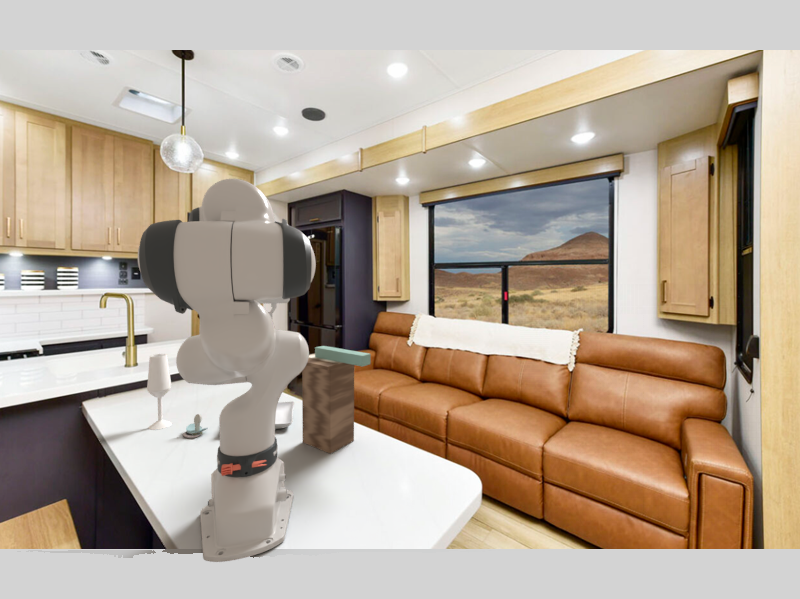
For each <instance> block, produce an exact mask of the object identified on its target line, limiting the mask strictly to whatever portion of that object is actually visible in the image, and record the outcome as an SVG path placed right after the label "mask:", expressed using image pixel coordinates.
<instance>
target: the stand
mask: <svg viewBox="0 0 800 599" xmlns="http://www.w3.org/2000/svg"><path fill="white" fill-rule="evenodd" d="M301 373H302V377H301V378H302V379H301V380H302V385H301V386H302V387H301V389H302V391H301V392H302V393H301V394H302V396H301V397H302V399H301V400H302V409H301V410H302V443H303V444H306V445H308V446H310V447H313V448H316V449H318V450H320V451H323V452H325V453H328V454H330V455H331V454H333V453H335V452H337V451H338V450H340V449H343V447H346V446H347V445H349V444H351V443H353V442H354V441H355V365H352V364H347V363H342V362H337V361H332V360H327V359H322V358H317V357H315V353H309V358H308V362H307V364H306V366H305V368H304V370H303V371H302V372H301Z"/></svg>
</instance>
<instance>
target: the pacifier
mask: <svg viewBox="0 0 800 599" xmlns="http://www.w3.org/2000/svg"><path fill="white" fill-rule="evenodd" d="M202 420H203V417H202V415H201V414H199V413H197V414H195V416H194V418H193V423H190V424H188V425H187V426H186V428H185V431H184V432H183V433H182V436H183V437H185V438H187V439H195V438H198V437H200V436H201V435H202V434H203V432H204V431H206V430H208V427H204V428H202V427H203V426H201V423H202ZM189 434H190V435H189Z"/></svg>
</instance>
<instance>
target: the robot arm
mask: <svg viewBox="0 0 800 599" xmlns="http://www.w3.org/2000/svg"><path fill="white" fill-rule="evenodd" d="M314 252H315V251H314V249H313V247H312V245H311V240H310V238H308V237H307V235H305V234H304V233H303V232H302V231H301V230H300V229H298V228H297V227H294V226H291V225H289V224H288V221H287V219H285V218H282V219H281V222H279V221H275V214H274V210H273V207H272V204H271V203H270V201H269V199H268V198H267V196H266V195H265V194H264V192H262V190H261V189H259V188H258V187H257V186H256V185H255V184H253V183H250V182H249V181H247V180H244V179H239V178H225V179H221V180H218V181H217V182H215V183H213V184H212V185H211V186H209V188H208V189H207V190H206V192H205V193H204V196H203V199H202V203H201V206H198V207H195V208H193V209H192V210H191V211H190V213H189V217H188V221H182V220H181V219H171V220H163V221H158V222H155V223H151V224H149V225H148V227H147V228H146V229H145V230H144V232H142V234H141V238H140V242H139V245H138V249H137V266H138V268H139V269H138V270H139V271H140V275H141V278H142V281H143V283H144V285H145V286H146V287H147V289H149V290H150V291H151V293H153V294H154V295H155V296H156V297H157V298H158V299H160V300H161V301H164V302H165V303H168V304H170V305H172V306H173V307H174V311H175V312H176V313H178V314H185V313H186V311H187V310H190V311H195V312H196V313H197V314H198V316H199V329H198V330H199V334H197V335H192V336H189V337H188V338H186V339H185V340H184V341H183V343H182V344H181V345H180V347H179V348H178V351H177V355H176V359H175V363H176V368H177V371H178V373H179V375H180V377H181V378H182V379H183V380H184V381H185V382H186V383H188V384H193V385H194V384H195V385H203V386H204V385H205V386H221V385H232V384H233V385H234V384H243V383H245V384H247V383H250V384H251V387H250V388H249V389H247V391H246V392H244V393H243V394H241V395H239V396H237V397H235V398H234V399H232V400H231V401H229V402H228V403H227V404H226V405H225V406H224V407H223V409H222V410H221V411H220V414H219V417H218V418H219V426H218V428H219V446H218V448H217V455H216V462H217V466H216V469H215V470H214V471H213V472H212V473H211V474H210V476H211V477H210V479H211V480H210V481H211V483H210V484H211V491H210V492H211V498H210V499H208V501H207V504H206V506H204V507H202V508H201V509H200V514H199V516H200V517H199V519H200V532H201V533H200V534H201V535H200V536H201V550H202V559H203V560H204V561H205V562H210V563H211V562H213V563H222V562H223V563H224V562H231V561H236V560H241V559H244V558H245V559H246V558H249V557H253V556H255V555H259V554H262V553H264V552H266V551H268V550H271V549H273V548H276V547H277V546H278V545H281V543H283V542H284V541H285V539H286V536H287V531H288V530H287V529H288V525H289V521H290V520H289V519H290V517H291V512H292V507H293V502H294V491H292V490H291V489H290V490H289V489H287V488H286V486H285V481H286V480H287V479H286V476H287V475H286V473H285V462H284V461H283V460H282V459H280V458H279V457H278V440H277V437H276V429H275V417H276V408H277V404H278V402H280V401H279V400H280V397H281V396H282V394H283V392H284V391H285V389H286V388H287V386H288V385H289V384H290V383H291V382H292V381H293V380H294V379H295V378H296V377H297V376H299V375H301V373H302V371H303V370H304V368H305V366H306V364H307V362H308V358H309V355H310V351H309V345H308V342H307V340H306V338H305V337H304V336H303V335H302V334H301V332H297V331H292V330H285V329H276V327H275V324H274V320H273V314H274V312H275V311H276V309H277V305H278V304H287V303H289V302H290V300H291V299H293V298H298V297H301V296H304V295H305V294H306V293H307V292H308V290H310V289H311V288H310V287H311V283H312V282H313V279H314V276H315V273H316V267H317V266H316V265H317V264H316V263H317V262H316V256H315V253H314ZM262 304H263V305H264V304H265V305H266V304H269V305H270V304H271V305H270V307H271V310H270V311H268V310H267V309H266V308H265V307H264V306H263V305H262Z"/></svg>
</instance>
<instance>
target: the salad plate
mask: <svg viewBox="0 0 800 599" xmlns="http://www.w3.org/2000/svg"><path fill="white" fill-rule="evenodd" d="M294 407H295V402H294V401H278V404H277V408H276V417H275V430H279V429H280V430H281V429H285V428H288V427H289V426H291V425H292V423H293V422H294V421H293V419H294V418H293V417H294Z"/></svg>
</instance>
